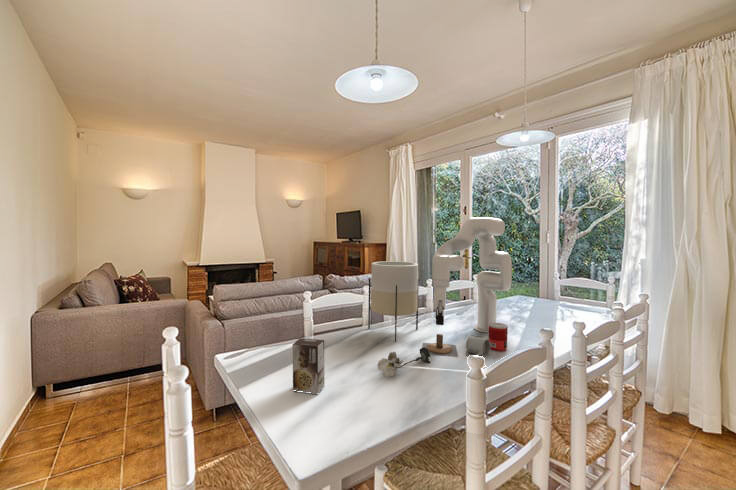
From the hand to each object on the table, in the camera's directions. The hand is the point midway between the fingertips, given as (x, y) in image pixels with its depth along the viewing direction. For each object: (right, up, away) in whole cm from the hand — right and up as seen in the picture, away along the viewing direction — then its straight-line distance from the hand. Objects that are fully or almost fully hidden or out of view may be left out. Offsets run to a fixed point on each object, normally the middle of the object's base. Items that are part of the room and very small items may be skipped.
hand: (439, 321), depth 151 cm
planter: (-20, -12, +25) cm, 34 cm away
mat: (0, -13, +1) cm, 13 cm away
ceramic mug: (+15, -14, -4) cm, 21 cm away
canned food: (+27, -13, +4) cm, 31 cm away
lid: (0, -12, +1) cm, 12 cm away
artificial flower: (-17, -14, -19) cm, 29 cm away
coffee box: (-51, -14, -37) cm, 64 cm away
